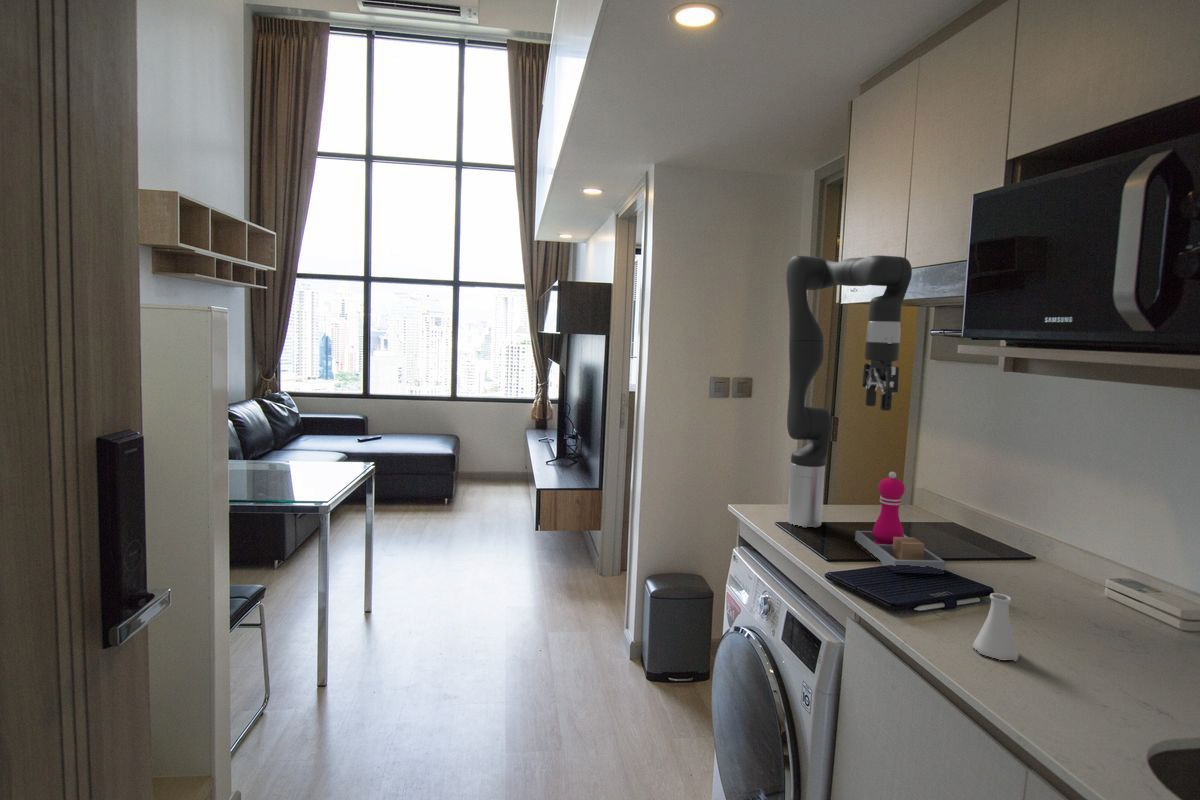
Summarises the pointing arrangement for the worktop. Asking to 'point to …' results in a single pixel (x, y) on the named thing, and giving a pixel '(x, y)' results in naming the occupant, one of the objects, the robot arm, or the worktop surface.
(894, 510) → the pepper mill
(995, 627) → the flask
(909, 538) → the wooden block
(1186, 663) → the worktop surface
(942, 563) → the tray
